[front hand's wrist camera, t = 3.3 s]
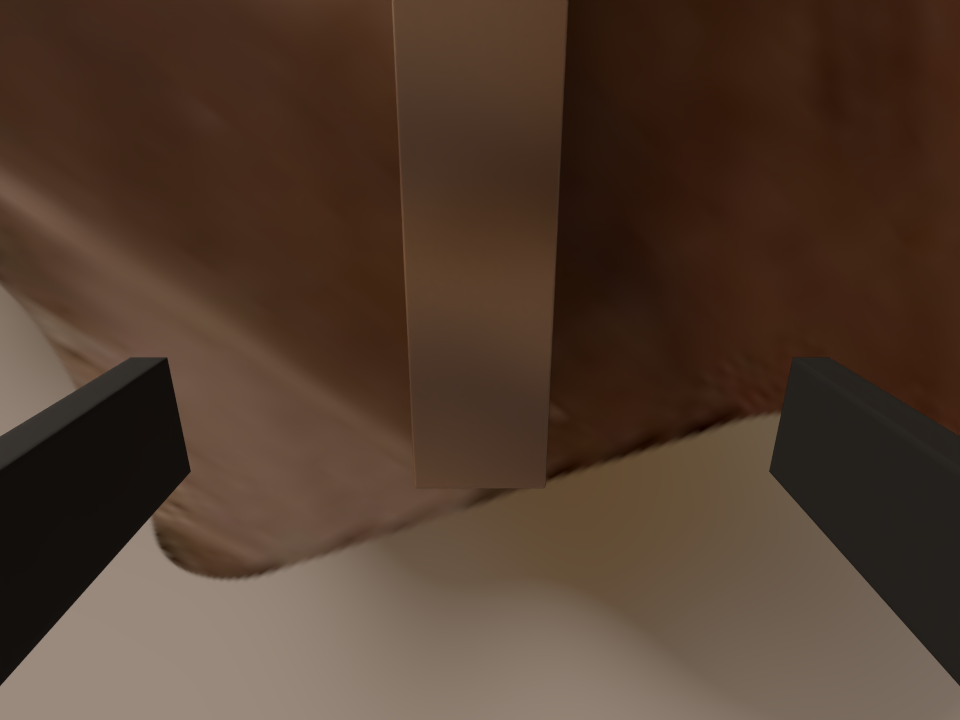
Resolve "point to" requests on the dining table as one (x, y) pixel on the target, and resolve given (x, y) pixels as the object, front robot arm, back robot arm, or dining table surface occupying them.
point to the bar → (479, 231)
